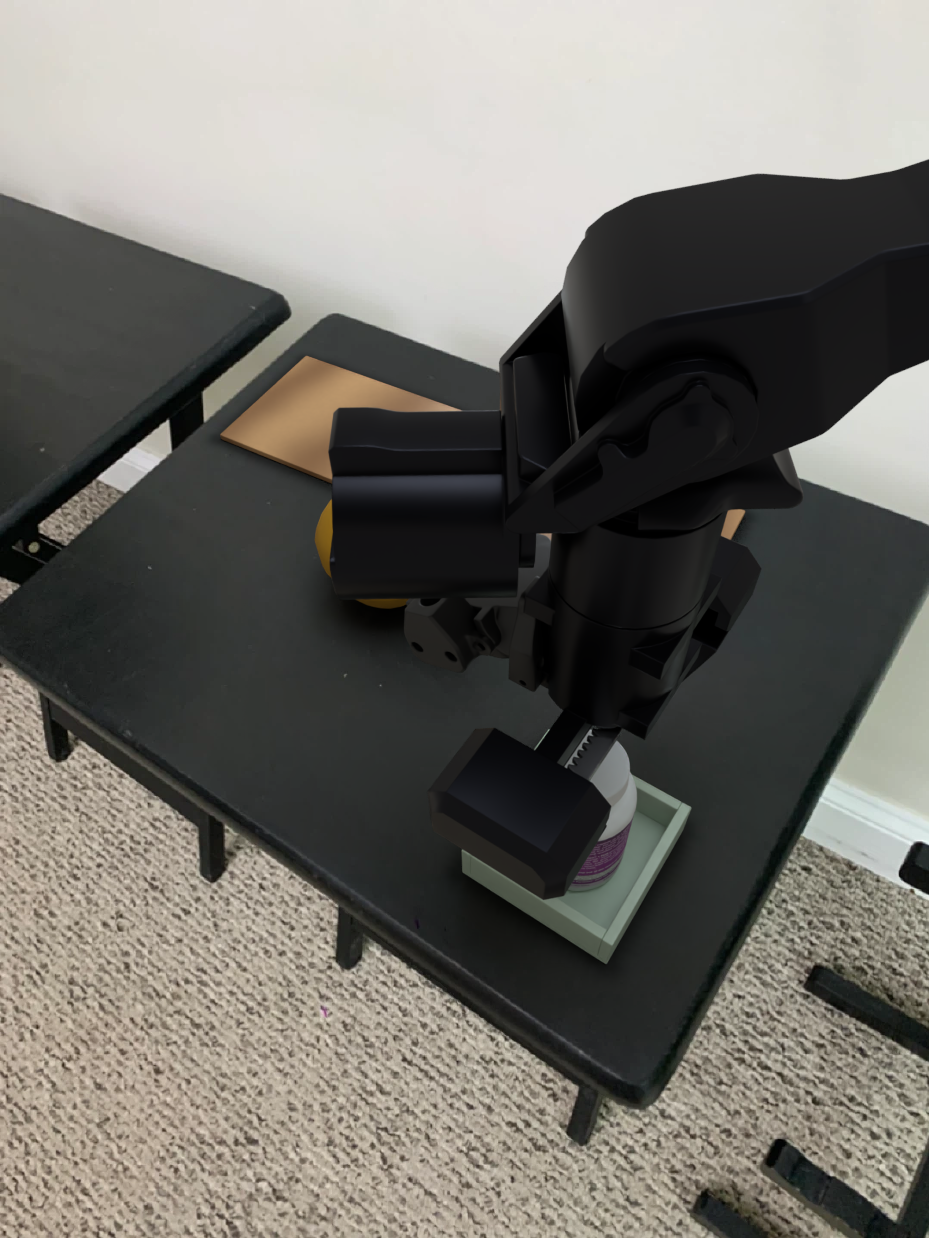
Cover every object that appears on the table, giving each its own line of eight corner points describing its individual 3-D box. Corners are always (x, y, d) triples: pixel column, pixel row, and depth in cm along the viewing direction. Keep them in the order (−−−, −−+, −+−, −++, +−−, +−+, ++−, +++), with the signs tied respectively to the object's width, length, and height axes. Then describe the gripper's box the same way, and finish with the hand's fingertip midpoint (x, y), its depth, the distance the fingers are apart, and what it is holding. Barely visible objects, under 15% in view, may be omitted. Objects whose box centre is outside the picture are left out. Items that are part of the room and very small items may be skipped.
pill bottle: (638, 834, 53) (664, 748, 45) (595, 911, 50) (615, 833, 42) (555, 789, 55) (567, 699, 47) (509, 861, 52) (514, 778, 44)
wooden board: (744, 515, 69) (745, 510, 69) (685, 626, 63) (686, 622, 62) (306, 360, 82) (306, 355, 81) (220, 439, 75) (219, 434, 75)
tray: (683, 830, 53) (692, 807, 51) (606, 964, 49) (612, 945, 46) (546, 753, 57) (548, 728, 54) (462, 872, 52) (460, 850, 50)
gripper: (564, 362, 41) (546, 588, 53) (290, 642, 32) (344, 838, 44) (804, 454, 37) (725, 675, 49) (572, 805, 28) (546, 971, 40)
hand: (589, 776), depth 46 cm, fingers open, 9 cm apart
